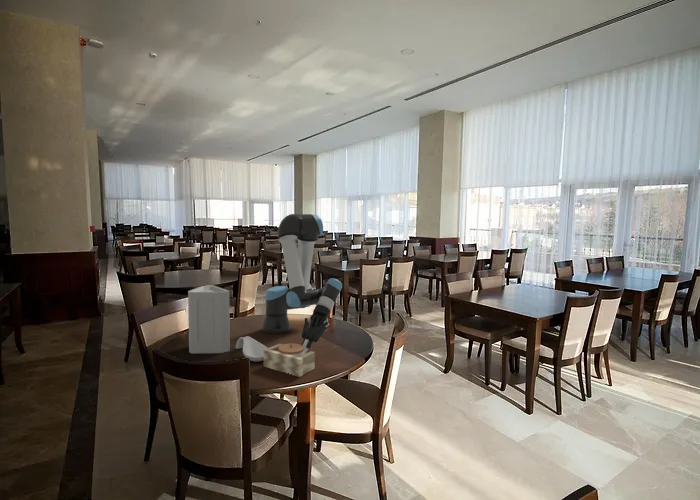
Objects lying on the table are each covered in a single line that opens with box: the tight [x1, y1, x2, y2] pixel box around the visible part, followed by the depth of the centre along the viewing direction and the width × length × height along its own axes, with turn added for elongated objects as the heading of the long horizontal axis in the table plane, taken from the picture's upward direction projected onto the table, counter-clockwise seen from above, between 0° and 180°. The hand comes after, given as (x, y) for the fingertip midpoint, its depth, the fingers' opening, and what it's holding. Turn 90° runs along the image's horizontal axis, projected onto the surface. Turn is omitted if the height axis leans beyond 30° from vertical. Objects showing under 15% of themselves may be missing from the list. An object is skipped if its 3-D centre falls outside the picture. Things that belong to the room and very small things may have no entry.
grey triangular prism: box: [187, 284, 231, 354], centre depth 177 cm, size 19×15×28 cm
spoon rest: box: [235, 335, 268, 363], centre depth 171 cm, size 24×12×7 cm, turn 40°
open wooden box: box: [263, 343, 316, 378], centre depth 159 cm, size 19×10×7 cm, turn 59°
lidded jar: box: [278, 343, 304, 357], centre depth 161 cm, size 11×11×9 cm
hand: (301, 354), depth 166 cm, fingers closed
